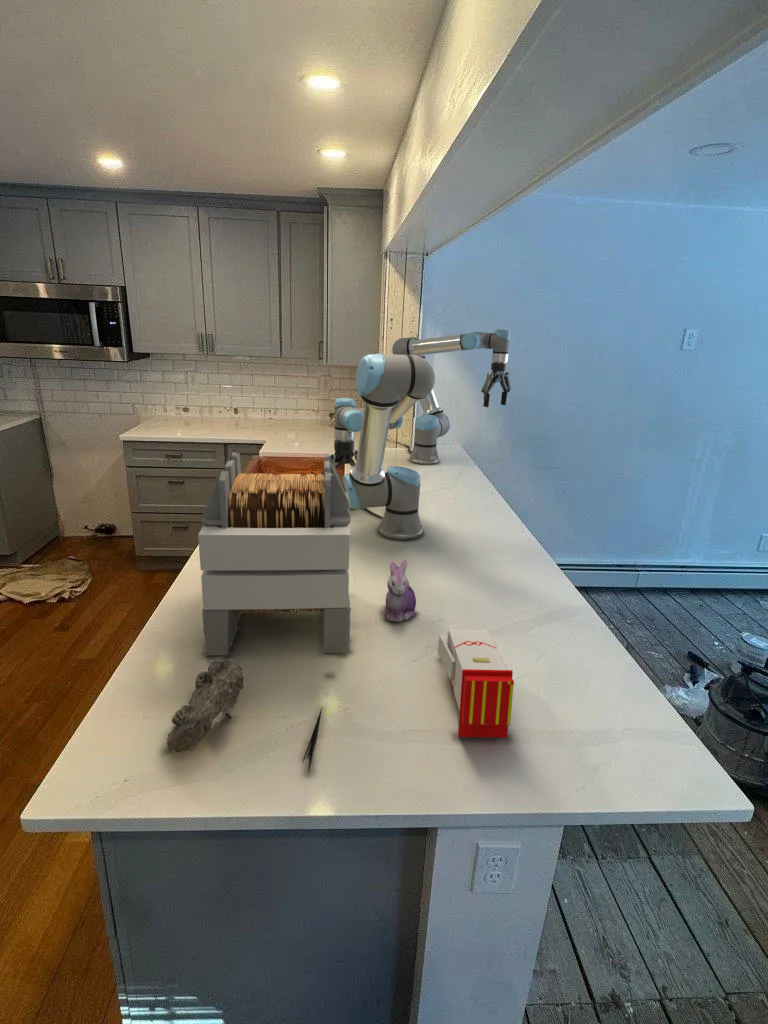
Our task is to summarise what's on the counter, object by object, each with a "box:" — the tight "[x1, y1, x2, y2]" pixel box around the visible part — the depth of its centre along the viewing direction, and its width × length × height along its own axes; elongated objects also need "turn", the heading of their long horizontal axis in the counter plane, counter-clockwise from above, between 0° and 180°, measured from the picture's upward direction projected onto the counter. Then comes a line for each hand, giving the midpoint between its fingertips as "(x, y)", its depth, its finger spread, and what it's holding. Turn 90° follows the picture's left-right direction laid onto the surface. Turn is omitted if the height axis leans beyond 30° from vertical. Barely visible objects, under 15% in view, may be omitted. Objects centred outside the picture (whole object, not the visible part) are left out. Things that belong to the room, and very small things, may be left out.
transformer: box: [197, 451, 352, 657], centre depth 136 cm, size 34×33×41 cm
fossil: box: [166, 658, 245, 754], centre depth 106 cm, size 22×10×15 cm
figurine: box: [384, 558, 417, 623], centre depth 145 cm, size 9×10×15 cm
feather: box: [301, 673, 332, 771], centre depth 108 cm, size 2×28×2 cm
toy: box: [437, 628, 515, 738], centre depth 117 cm, size 12×13×30 cm
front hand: (343, 493), depth 221 cm, fingers open, 13 cm apart
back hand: (494, 405), depth 285 cm, fingers open, 13 cm apart
